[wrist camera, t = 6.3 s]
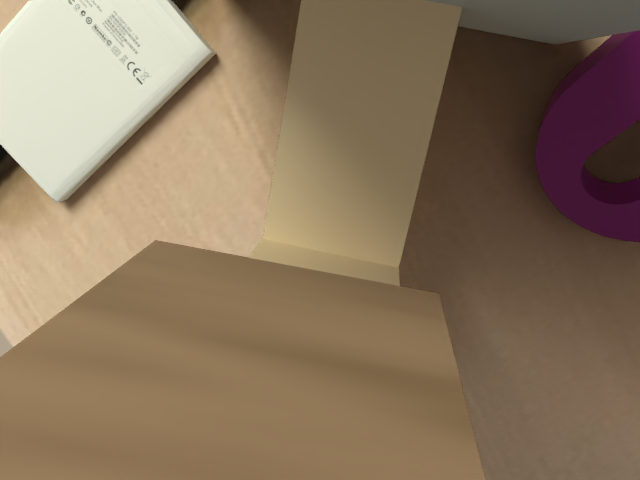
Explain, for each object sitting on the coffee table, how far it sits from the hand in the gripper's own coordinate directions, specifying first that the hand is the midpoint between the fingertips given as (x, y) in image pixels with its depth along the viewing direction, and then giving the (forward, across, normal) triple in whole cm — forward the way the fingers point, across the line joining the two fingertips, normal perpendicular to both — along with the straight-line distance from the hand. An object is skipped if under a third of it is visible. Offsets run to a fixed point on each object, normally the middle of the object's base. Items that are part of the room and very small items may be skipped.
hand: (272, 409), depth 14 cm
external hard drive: (+18, +15, -6) cm, 24 cm away
